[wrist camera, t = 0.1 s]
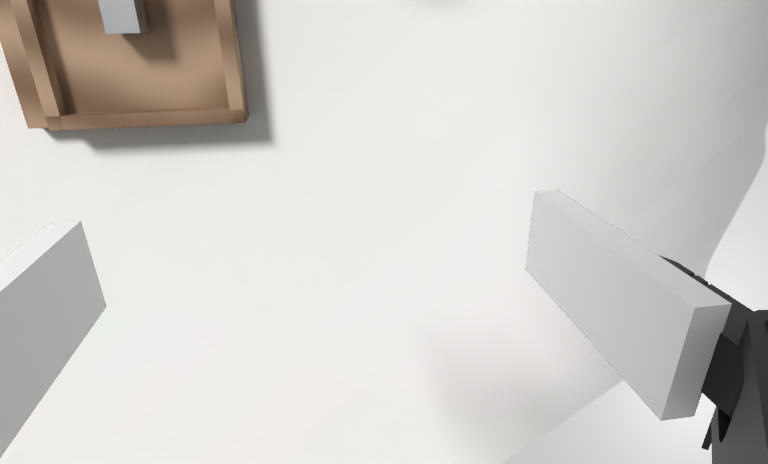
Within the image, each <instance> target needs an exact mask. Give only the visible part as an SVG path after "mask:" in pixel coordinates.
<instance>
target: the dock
mask: <svg viewBox="0 0 768 464" xmlns="http://www.w3.org/2000/svg"><path fill="white" fill-rule="evenodd" d="M144 5H145V10H146V15H147V20H148V25H149V30H150V33H118V34H106V33H105V29H104V24H103V20H102V16H101V12H100V7H99V3H98V0H0V42H1V45H2V48H3V51H4V54H5V57H6V61H7V64H8V67H9V70H10V73H11V76H12V79H13V82H14V86H15V89H16V92H17V95H18V98H19V101H20V104H21V107H22V111H23V114H24V117H25V120H26V123H27V126H28V128H49V131H52V130H76V129H101V128H125V127H149V126H174V125H198V124H223V123H245V122H246V120H247V118H248V117H249V115H248V107H247V99H246V91H245V83H244V75H243V68H242V60H241V52H240V44H239V36H238V29H237V21H236V13H235V5H234V0H144Z"/></svg>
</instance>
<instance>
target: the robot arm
mask: <svg viewBox="0 0 768 464" xmlns="http://www.w3.org/2000/svg"><path fill="white" fill-rule="evenodd" d="M525 269H526V271H527V272H528V273H529V274H530V275H531V276H532V277H533V278H534V280H535V281H536V282H537V283H538V284H539V285H540V286H541V287H542V288H543V290H544V291H545V292H546V293H547V294H548V295H549V296H550V297H551V299H552V300H553V301H554V302H555V303H556V304H557V305H558V306H559V307H560V309H561V310H562V311H563V312H564V313H565V314H566V315H567V316H568V318H569V319H570V320H571V321H572V322H573V323H574V324H575V325H576V327H577V328H578V329H579V330H580V331H581V332H582V333H583V334H584V335H585V337H586V338H587V339H588V340H589V341H590V342H591V343H592V344H593V346H594V347H595V348H596V349H597V350H598V351H599V352H600V353H601V354H602V356H603V357H604V358H605V359H606V360H607V361H608V362H609V363H610V365H611V366H612V367H613V368H614V369H615V370H616V371H617V372H618V373H619V375H620V376H621V377H622V378H623V379H624V380H625V381H626V382H627V383H628V385H629V386H630V387H631V388H632V389H633V390H634V391H635V392H636V393H637V395H638V396H639V397H640V398H641V399H642V400H643V401H644V402H645V404H646V405H647V406H648V407H649V408H650V409H651V410H652V411H653V413H654V414H655V415H656V416H657V417H658V418H659V419H660V420H669V419H676V418H683V417H690V416H694V415H695V412H696V409H697V406H698V403H699V400H700V397H701V394H702V393H704V394H705V395H706V396H707V397H708V398H709V399H710V400H711V401H712V402H713V403H714V404H715V405H716V409H715V412H714V415H713V417H712V420H711V423H710V425H709V428H708V431H707V434H706V437H705V439H704V442H703V445H702V448H703V449H706V450H708V449H709V446H710V444H711V443H712V464H768V310H757V311H755V312H754V311H752V310H750V309H749V308H747V307H746V306H744V305H743V304H741V303H740V302H738V301H736V300H735V299H733V298H732V297H730V296H729V295H727V294H726V293H724V292H723V291H721V290H719V289H718V288H716V287H715V286H713V285H712V284H711V285H708V282H707V281H705V280H704V279H702V278H701V277H699V276H698V275H697V276H695V275H694V273H693V272H691V271H690V270H688V269H687V268H685V267H684V266H682V265H681V264H679V263H677V262H675V261H672V260H670V259H667V258H665V257H662V256H660V255H657V254H655V253H654V252H652V251H651V250H649V249H648V248H646V247H645V246H643V245H642V244H640V243H639V242H637V241H636V240H634V239H633V238H631V237H630V236H628V235H627V234H625V233H624V232H622V231H621V230H619V229H618V228H616V227H614V226H613V225H611V224H610V223H608V222H607V221H605V220H604V219H602V218H601V217H599V216H598V215H596V214H595V213H593V212H592V211H590V210H589V209H587V208H586V207H584V206H583V205H581V204H580V203H578V202H577V201H575V200H573V199H572V198H570V197H569V196H567V195H566V194H564V193H563V192H561V191H560V190H558V189H556V190H541V191H535V194H534V202H533V210H532V218H531V226H530V234H529V243H528V251H527V259H526V267H525ZM105 308H106V304H105V300H104V297H103V294H102V290H101V287H100V284H99V280H98V277H97V274H96V270H95V267H94V264H93V260H92V257H91V253H90V250H89V247H88V243H87V240H86V237H85V233H84V230H83V227H82V223H81V221H71V222H56V223H50V224H48V225H47V226H46V227H45V228H43V229H42V230H41V231H39V232H38V233H37V234H36V235H34V236H33V237H32V238H31V239H29V240H28V241H27V242H25V243H24V244H23V245H22V246H20V247H19V248H18V249H17V250H15V251H14V252H13V253H11V254H10V255H9V256H8V257H6V258H5V259H4V260H3V261H1V262H0V458H1V456H2V455H3V453H4V452H5V450H6V449H7V448H8V446H9V445H10V443H11V442H12V440H13V439H14V438H15V436H16V435H17V433H18V432H19V430H20V429H21V428H22V426H23V425H24V423H25V422H26V420H27V419H28V418H29V416H30V415H31V413H32V412H33V410H34V409H35V408H36V406H37V405H38V403H39V402H40V400H41V399H42V398H43V396H44V395H45V393H46V392H47V390H48V389H49V388H50V386H51V385H52V383H53V382H54V380H55V379H56V378H57V376H58V375H59V373H60V372H61V370H62V369H63V368H64V366H65V365H66V363H67V362H68V360H69V359H70V358H71V356H72V355H73V353H74V352H75V350H76V349H77V348H78V346H79V345H80V343H81V342H82V341H83V339H84V338H85V336H86V335H87V333H88V332H89V331H90V329H91V328H92V326H93V325H94V323H95V322H96V321H97V319H98V318H99V316H100V315H101V313H102V312H103V311H104V309H105Z"/></svg>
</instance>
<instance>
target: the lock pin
mask: <svg viewBox="0 0 768 464" xmlns="http://www.w3.org/2000/svg"><path fill="white" fill-rule="evenodd" d="M98 3H99V7H100V12H101V16H102V20H103V24H104V29H105V33H106V34H118V33H150V30H149V25H148V20H147V15H146V10H145V5H144V0H98Z"/></svg>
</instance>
